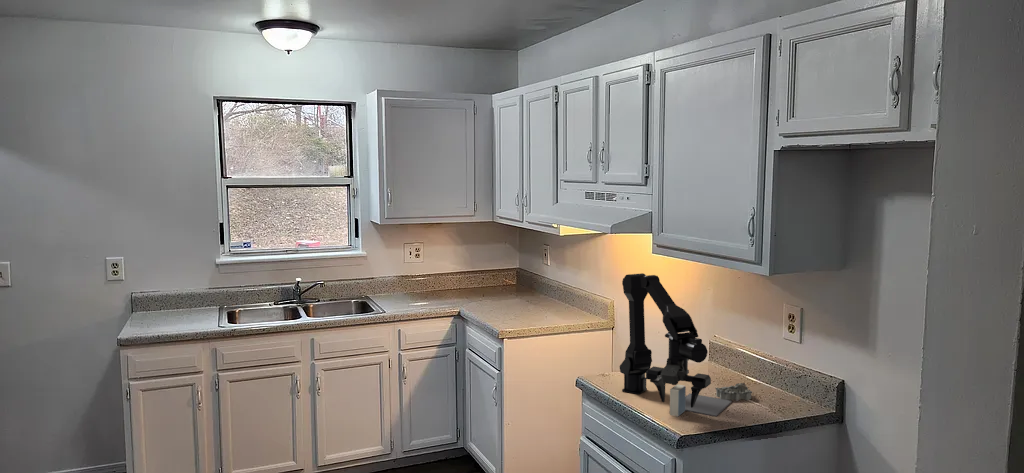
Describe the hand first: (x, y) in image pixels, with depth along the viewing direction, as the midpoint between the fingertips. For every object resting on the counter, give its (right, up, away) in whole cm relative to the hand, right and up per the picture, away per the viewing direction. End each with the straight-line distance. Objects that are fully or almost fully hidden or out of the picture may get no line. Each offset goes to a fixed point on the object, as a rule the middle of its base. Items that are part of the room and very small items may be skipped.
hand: (677, 404), depth 217 cm
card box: (0, -3, 0) cm, 3 cm away
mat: (+9, -2, +7) cm, 12 cm away
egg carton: (+22, -2, +15) cm, 26 cm away
